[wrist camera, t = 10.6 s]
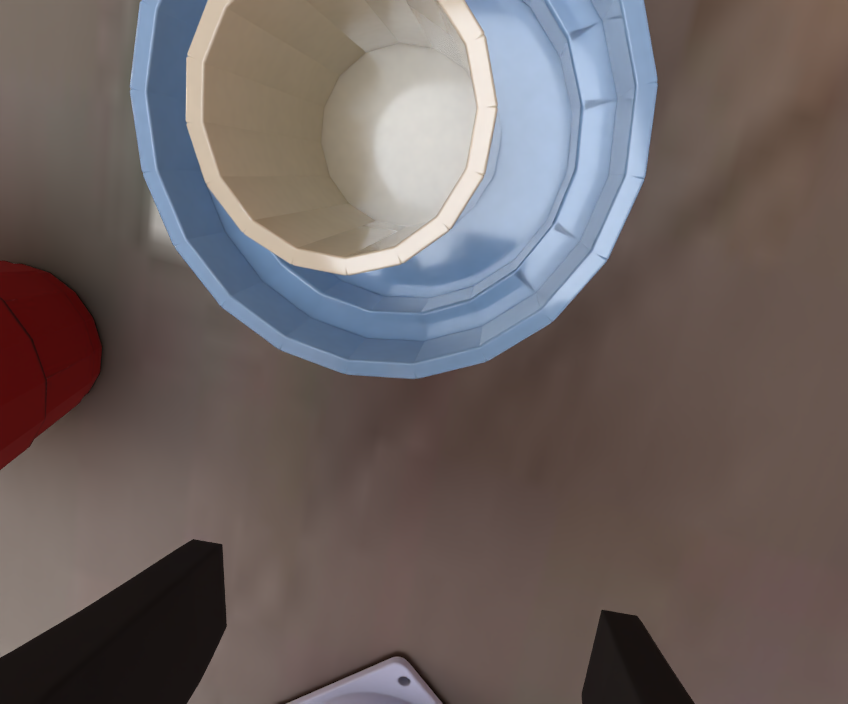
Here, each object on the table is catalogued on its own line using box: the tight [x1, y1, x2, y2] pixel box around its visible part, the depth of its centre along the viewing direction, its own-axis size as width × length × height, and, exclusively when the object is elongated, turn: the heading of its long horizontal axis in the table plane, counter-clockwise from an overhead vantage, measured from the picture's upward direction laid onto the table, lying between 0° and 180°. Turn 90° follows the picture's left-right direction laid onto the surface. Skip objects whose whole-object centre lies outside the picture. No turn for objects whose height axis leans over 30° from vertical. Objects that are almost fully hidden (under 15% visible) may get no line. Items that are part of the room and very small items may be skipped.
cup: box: [186, 0, 502, 276], centre depth 12 cm, size 6×6×7 cm
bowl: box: [130, 0, 658, 379], centre depth 14 cm, size 12×12×4 cm
